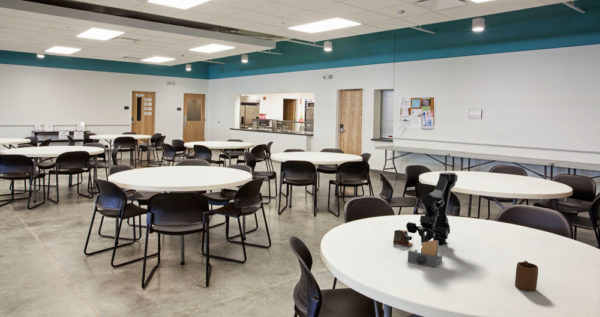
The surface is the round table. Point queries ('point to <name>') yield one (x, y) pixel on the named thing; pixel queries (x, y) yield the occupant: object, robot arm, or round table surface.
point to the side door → (430, 247)
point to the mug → (526, 276)
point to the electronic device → (402, 238)
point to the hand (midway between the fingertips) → (422, 245)
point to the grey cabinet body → (424, 259)
